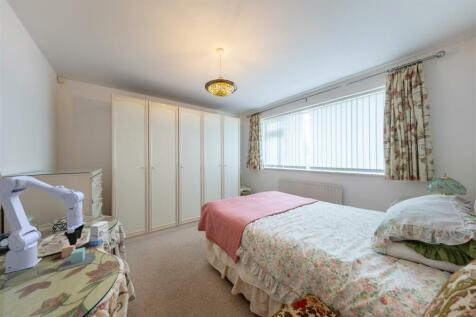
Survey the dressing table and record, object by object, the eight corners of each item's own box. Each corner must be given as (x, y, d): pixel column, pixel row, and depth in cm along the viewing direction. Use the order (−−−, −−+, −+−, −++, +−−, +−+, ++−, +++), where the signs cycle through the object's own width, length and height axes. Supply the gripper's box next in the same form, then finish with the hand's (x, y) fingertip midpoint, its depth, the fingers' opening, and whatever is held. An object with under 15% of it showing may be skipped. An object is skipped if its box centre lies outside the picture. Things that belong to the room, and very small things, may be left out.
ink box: (98, 245, 105) (97, 226, 105) (89, 245, 105) (89, 226, 105) (108, 238, 114) (108, 220, 114) (101, 238, 114) (100, 220, 114)
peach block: (61, 258, 93) (61, 248, 93) (64, 254, 97) (64, 245, 97) (73, 255, 95) (72, 246, 95) (75, 251, 99) (75, 242, 99)
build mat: (57, 271, 82) (57, 270, 82) (66, 258, 92) (66, 257, 92) (90, 263, 88) (90, 262, 88) (95, 251, 98) (95, 251, 98)
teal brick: (70, 263, 87) (70, 253, 87) (73, 259, 91) (73, 249, 91) (82, 261, 89) (82, 251, 89) (85, 256, 93) (84, 247, 93)
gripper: (81, 218, 86) (81, 245, 87) (88, 210, 99) (88, 234, 99) (61, 221, 83) (62, 249, 83) (71, 212, 96) (72, 237, 96)
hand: (75, 241), depth 91 cm, fingers open, 7 cm apart
